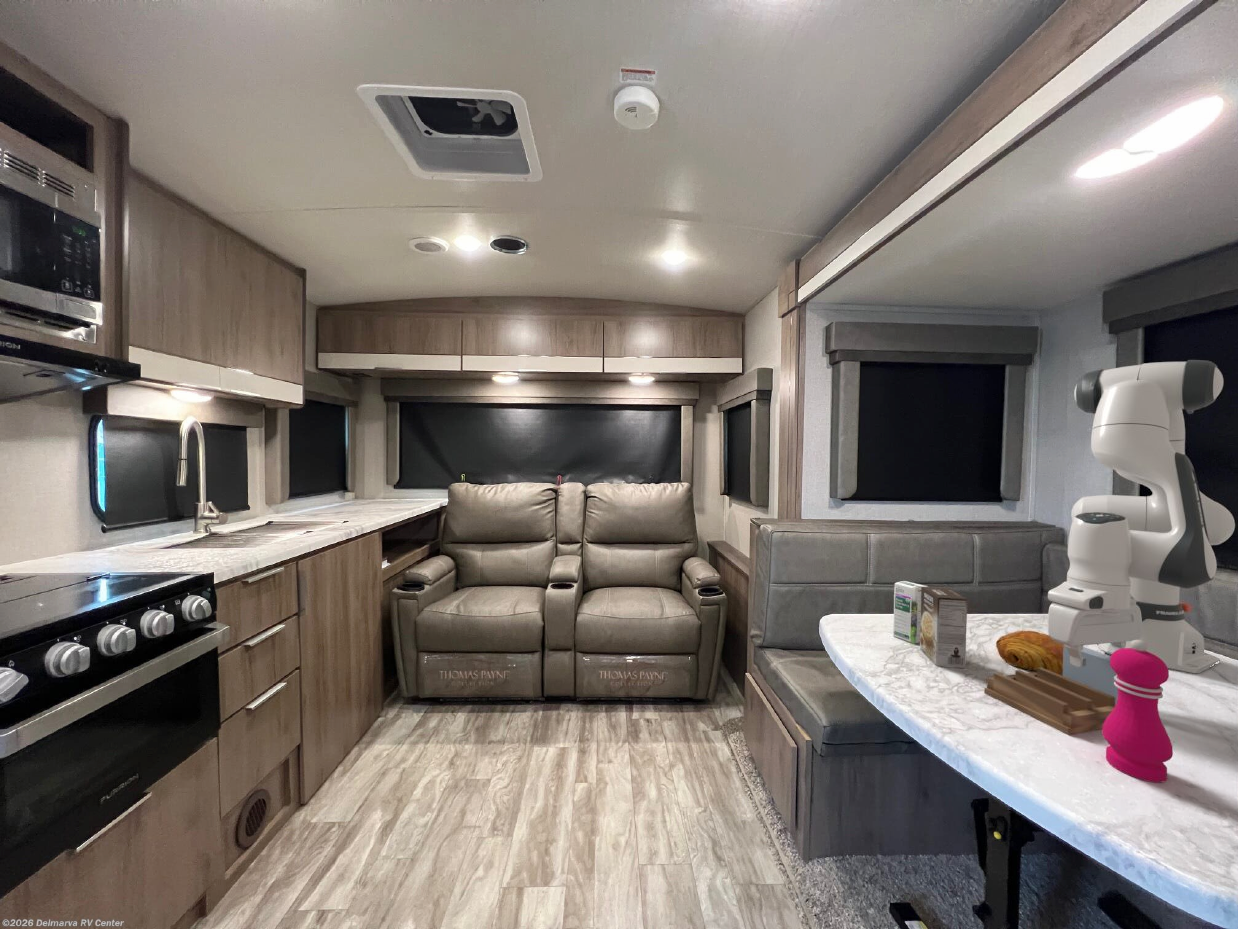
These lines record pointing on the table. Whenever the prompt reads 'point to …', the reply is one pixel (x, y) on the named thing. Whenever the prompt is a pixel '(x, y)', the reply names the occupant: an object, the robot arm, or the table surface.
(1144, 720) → the pepper mill
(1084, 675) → the tile
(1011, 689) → the rack
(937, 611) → the coffee box
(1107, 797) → the table surface
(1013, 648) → the croissant
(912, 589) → the syrup box
